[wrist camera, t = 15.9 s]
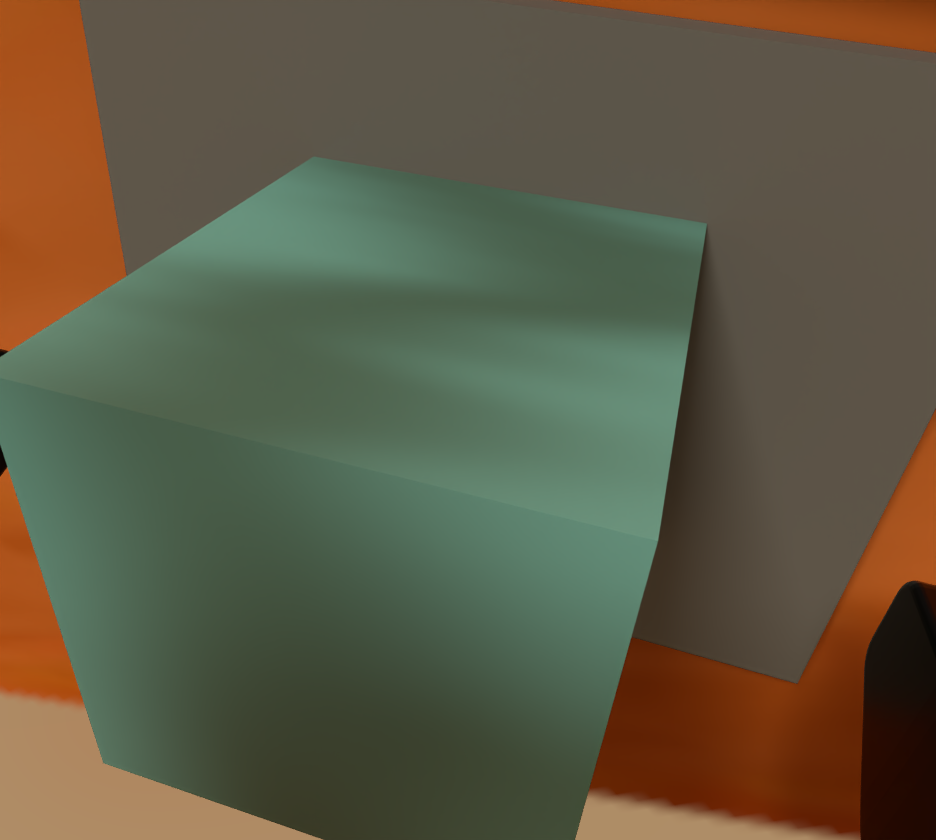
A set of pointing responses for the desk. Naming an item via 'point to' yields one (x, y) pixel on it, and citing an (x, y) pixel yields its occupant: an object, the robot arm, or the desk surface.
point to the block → (362, 497)
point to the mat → (625, 187)
